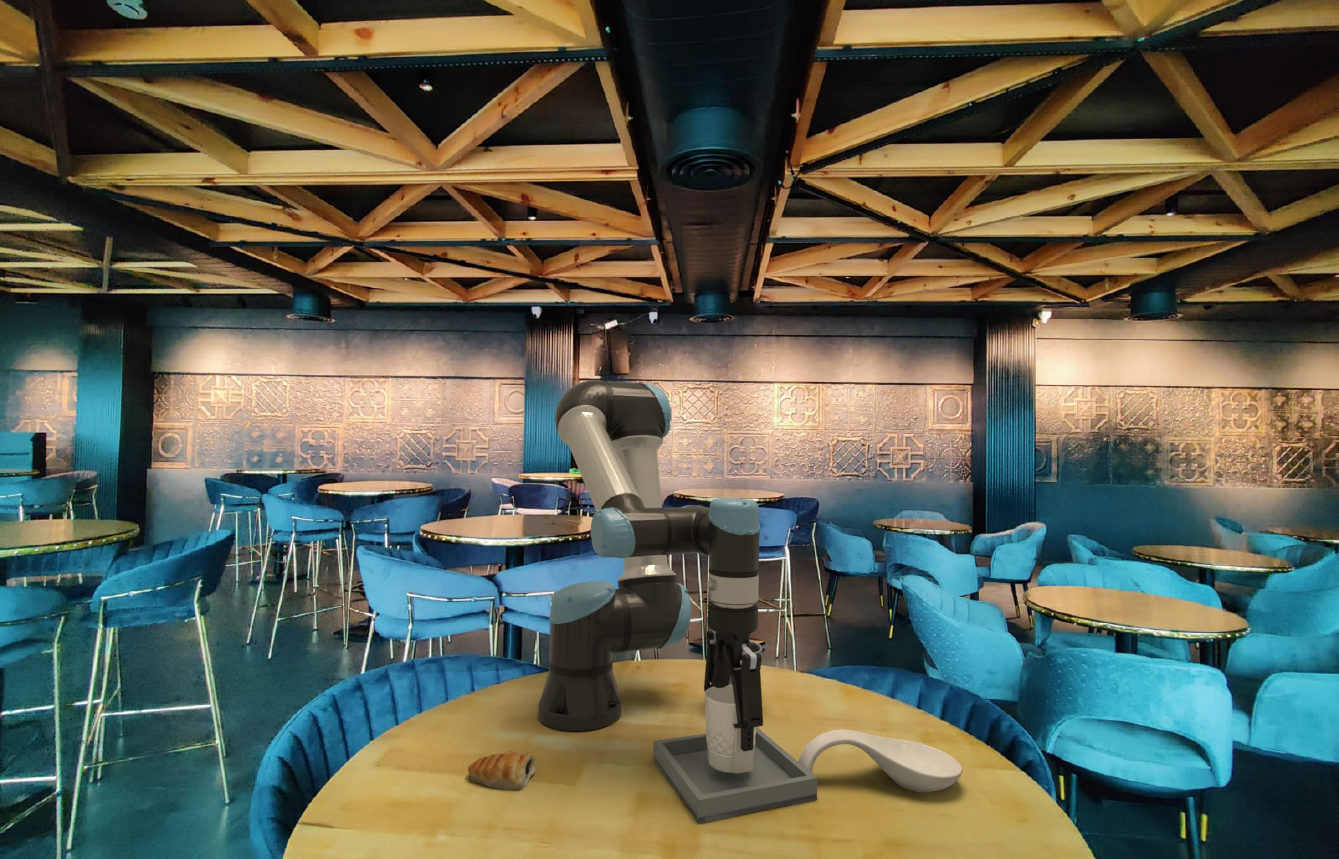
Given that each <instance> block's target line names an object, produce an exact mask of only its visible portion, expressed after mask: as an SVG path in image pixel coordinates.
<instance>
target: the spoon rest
mask: <svg viewBox="0 0 1339 859" xmlns="http://www.w3.org/2000/svg"><path fill="white" fill-rule="evenodd" d="M839 745H850V746H854V747H855V748H856V747H857V748H859V749H860V750H862V751H863V752H865V753H866V754H867V755H868V756H869V757H870V758H871V759H872V760H873V761H874V762H875V763H876V764H877V765H878V766H879V767H880V768H881V769H882V770H883V772H885V773H886V775H888V776H889V778H891V779H892V780H893V781H894V782H895V783H896V784H897V785H898V786H900V787H902V788H903V789H906V790H908V791H912V792H917V793H932V792H938V791H942V790H944V789H947V788H950V786H952V785H953V784H955V783H956V782H957V781H958V780H959V779H960V777H961V775H962V774H963V768H962V765H961V764H960V763H959V762H958V761H957V760H956V759H955V758H954V757H953V756H951V755H950V754H948V753H946V752H944V751H943V750H940V749H938V748H936V747H933V746H931V745H927V744H925V743H921V742H917V741H912V740H907V739H899V738H892V737H888V736H887V737H885V736H879V735H874V734H871V733H866V732H863V731H859V730H858V731H857V730H853V729H852V730H851V729H833V730H828V731H826V732H823V733H821V734H819V735H817V736H815V737H814V738H812V739H811V740H810V741H809V742H808V743H807V744H806V745H805V747H804V748H803V750H802V752H801V754H800V756H799V758H798V762H799V763H800V764H801V765H803V766H804V767H805V768H806V769H807V770H808V771H810V772H811V773H812V774H813V768H814V764H815V762H816V760H817V758H818V757H819V756H820V755H821V754H822V753H824V751H826V750H828V749H829V748H832V747H835V746H839Z"/></svg>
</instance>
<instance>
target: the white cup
mask: <svg viewBox="0 0 1339 859" xmlns="http://www.w3.org/2000/svg"><path fill="white" fill-rule="evenodd" d="M704 699H705V700H704V704H705V705H704V706H705V708H704V709H705V713H704V714H705V733H706V740H707V756H708V762H709V764H710V766H712V767H713V768H715V769H716V770H719V771H723V772H728V773H735V772H734V726H733V724H736V723H738V721H737V714H736V704H735V700H734V693H733V686H732V685H728V686H726V687H724V688H716V687H714V686H713V687H711V688H709V689H707V690H706V691H704ZM755 736H756V727H754V743H753V762H754V747H755Z"/></svg>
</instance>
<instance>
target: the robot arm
mask: <svg viewBox="0 0 1339 859" xmlns="http://www.w3.org/2000/svg"><path fill="white" fill-rule="evenodd" d="M554 422H555V428H556V431H557V434H558V436H559V438H560V440H561V441H562V443H564V444H565V445H567V446H569V448H570V451H571V453H572V456H573V459H574V461H575V464H576V466H577V468H578V470H579V473H580V476H581V478H582V481H583V482H584V484H585V485H584V486H585V487H586V489H587V492H588V494H589V497H590V499H591V501H592V504H593V507H594V509H595V512H594V514H593V515H592V519H591V524H590V538H591V544H592V547H593V548H592V549H593V550H594V553H596V554H597V555H598V556H599V557H601V558H615V559H617V558H618V559H623V564H624V565H623V566H624V570H623V572H622V574H621V575H620V576H619V578H618V579H617V587H618V588H615V585H614V584H613V583H612V582H610V581H606V580H605V581H604V580H597V581H582V582H577V583H574V584H570V585H566V586H564V587H562V588H561V589H559V590H557V591H556V592H555V593H554V594H553V596H552V598H551V604H550V613H549V622H550V624H549V626H550V628H549V630H550V631H549V656H548V657H549V662H548V663H549V665H548V666H549V667H548V675H547V677H546V680H545V684H544V687H543V690H542V692H541V695H540V697H539V701H538V708H537V709H538V710H537V718H538V721H540V723H542V724H543V725H544V726H546V727H549V728H551V729H554V730H559V731H560V730H561V731H565V732H566V731H568V732H584V731H592V730H593V731H594V730H598V729H601V728H605V727H609V726H610V725H612V724H614V723H615V722H616V721H617V720H620V718H621V715H622V698H621V695H620V691H619V688H618V684H617V682H616V678H615V674H614V670H613V669H614V668H613V667H614V666H613V665H614V660H613V659H614V654H617V653H618V654H620V653H628V652H636V651H637V652H638V651H644V650H645V651H646V650H652V649H655V650H659V649H664V648H667V647H672V646H675V645H678V644H679V643H681V642H682V641H683V640H684V638H685V637H686V634H687V632H688V631H689V627H690V624H691V618H692V601H691V596H690V594H689V593H688V592H689V590H688V589H687V587H686V586H685V585H683V584H681V583H679V582H678V580H677V574H676V573H675V572H674V571H673V570H672V569H671V568H670V567H669V565H668V556H671V555H672V556H673V555H687V554H688V555H690V554H700V555H704V556H707V557H708V581H706V587H707V589H708V590H707V591H708V593H707V594H708V595H707V596H708V599H709V601H710V602H709V603H708V604H707V627H708V628H709V629H710V630H707V632H706V645H707V647H706V656H705V658H706V659H705V670H704V682H703V683H704V684H703V691H704V692H705V691H706V690H707V689H709V688H711V687H713V686H714V687H716V688H724V687H726V686H728V685H729V681H730V677H731V679H732V686H733V693H734V700H735V704H736V714H737V721H738V723H736V724H733V726H734V772H735V773H736V774H737V773H742V772H748V771H753V743H754V727H758V728H760V727H763V725H764V716H763V715H764V714H763V713H764V712H763V697H762V696H763V695H762V678H761V669H760V668H761V667H762V659H763V658H762V657H761V654H760V653H753V652H752V651H751V645H750V641H751V640H750V636H751V634H752V633H754V632H755V631H757V630H758V628H759V607H758V605H757V603H758V602H759V586H760V585H759V584H760V582H759V581H760V580H759V578H760V575H759V564H760V562H759V561H760V530H761V524H760V514H759V512H760V511H759V509H760V508H759V505H758V503H757V502H756V501H755V500H753V499H748V498H736V497H735V498H733V497H730V498H727V497H722V498H714V499H712V500H711V501H710V504H709V507H707V506H706V507H705V506H703V505H700V504H697V505H696V504H695V505H694V504H693V505H692V504H690V505H684V506H681V507H663V505H662V492H661V491H662V490H661V481H660V480H661V479H660V471H659V461H658V449H660V448H661V447H662V445H663V444H664V438H665V437H667V435H668V434H669V432H670V431H671V425H672V424H671V422H672V408H671V403H670V401H669V399H668V396H667V394H666V393H665V391H664V390H663V389H662V388H661V387H659V386H657V385H655V384H648V383H644V382H627V381H624V382H623V381H614V380H613V381H611V380H610V381H609V380H600V379H598V380H597V379H589V380H584V381H582V382H579V383H577V384H575V385H574V386H572V387H571V388H569V389H568V390H567V391H566V392H565V393H564V394H563V395H562V397H561V398H560V399H559V402H558V403H557V406H556V410H555V414H554ZM714 645H715V646H714ZM735 668H741V669H739V670H734V669H735Z"/></svg>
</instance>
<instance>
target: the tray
mask: <svg viewBox="0 0 1339 859" xmlns="http://www.w3.org/2000/svg"><path fill="white" fill-rule="evenodd" d="M653 762H654V763H655V765H656V766H657V767H658V769H659V771H660V772H661V773H662V774H663V776H664V777H665V779H666V780H667V782H669V784H670V786H671V788H673V790H674V792H675V793H676V794H677V795H678V797H679V799H680V800H681V801H682V803H683V804H684V806H685V807H686V809H687V810H688V811H689V812H690V814H691V816H693V818H694V819H695V820H696V822H697V823H698V824H705V823H709V822H714V821H719V820H724V819H729V818H733V817H739V816H744V815H748V814H754V813H759V812H763V811H768V810H773V809H778V808H783V807H784V808H785V807H788V806H789V807H790V806H793V805H798V804H803V803H809V802H814V801H818V777H817V776H816V775H815V774H813V772H812V773H811V772H810V771H808V770H807V769H806V768H805V767H804V766H803V765H801V764H800V763H799V760H796V758H794V757H793V756H792V755H791V754H790V753H789V752H787V751H786V750H785V749H784V748H783V747H782V746H780V745H779V744H778V743H776V742H775V741H774V740H773V739H772V738H771V737H770V736H769V735H767V734H766V733H765V732H764V731H762V730H761V729H760V727H756V736H755V747H754V762H753V771H748V772H742V773H737V774H736V773H728V772H723V771H719V770H716V769H715V768H713V767H712V766H710V764H709V762H708V756H707V740H706V732H705V733H699V734H693V735H687V736H679V737H672V738H666V739H659V740H653Z"/></svg>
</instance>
